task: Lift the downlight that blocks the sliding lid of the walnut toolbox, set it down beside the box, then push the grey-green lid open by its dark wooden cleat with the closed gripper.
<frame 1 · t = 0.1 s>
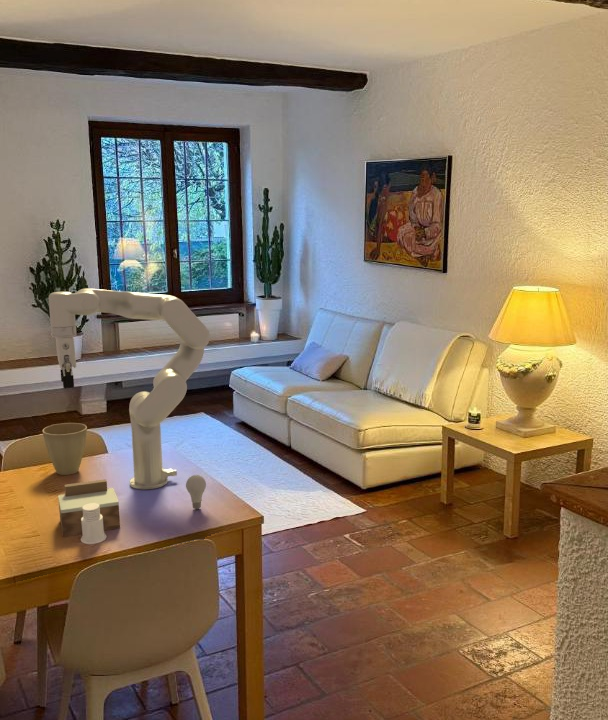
hand: (67, 384, 236), 37 cm above the table, tool pointing down, fingers open, 9 cm apart
lightbulb: (197, 509, 230), on the table
toolbox lid: (87, 495, 218), point 9 cm above the table, slide at 0.0 cm
downlight: (93, 539, 210), on the table
plant pot: (68, 471, 264), on the table
toolbox: (89, 524, 219), on the table
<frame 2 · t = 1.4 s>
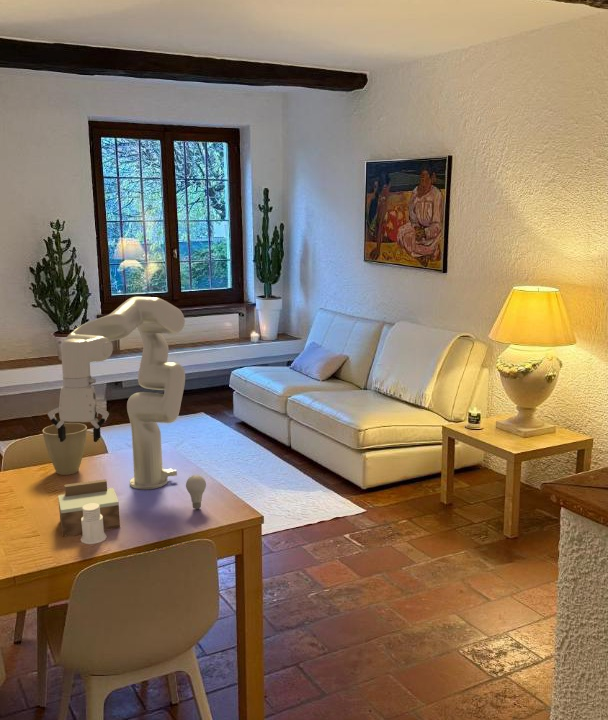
hand: (79, 440, 214), 26 cm above the table, tool pointing down, fingers open, 9 cm apart
nothing on the table moved.
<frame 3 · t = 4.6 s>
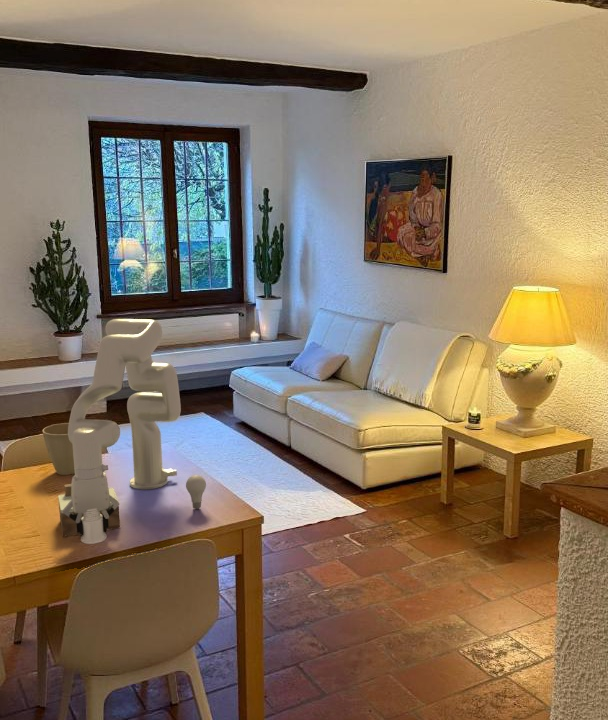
hand: (93, 531, 209), 2 cm above the table, tool pointing down, fingers closed on downlight, 5 cm apart
downlight: (93, 539, 210), on the table, touching gripper
everything else where it was.
when the fingers open (3 cm above the table, at t = 11.3 s): downlight drops 1 cm, on the table.
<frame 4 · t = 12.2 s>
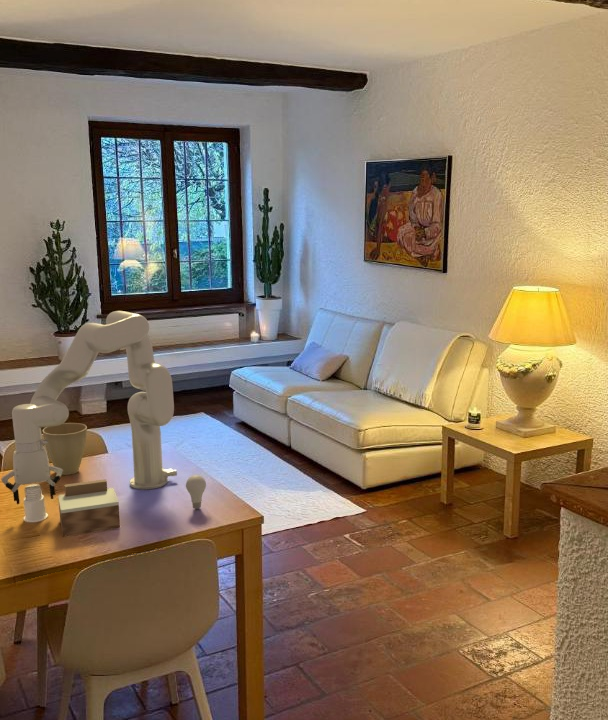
hand: (35, 499, 223), 6 cm above the table, tool pointing down, fingers open, 9 cm apart
downlight: (35, 518, 224), on the table
everything else where it was.
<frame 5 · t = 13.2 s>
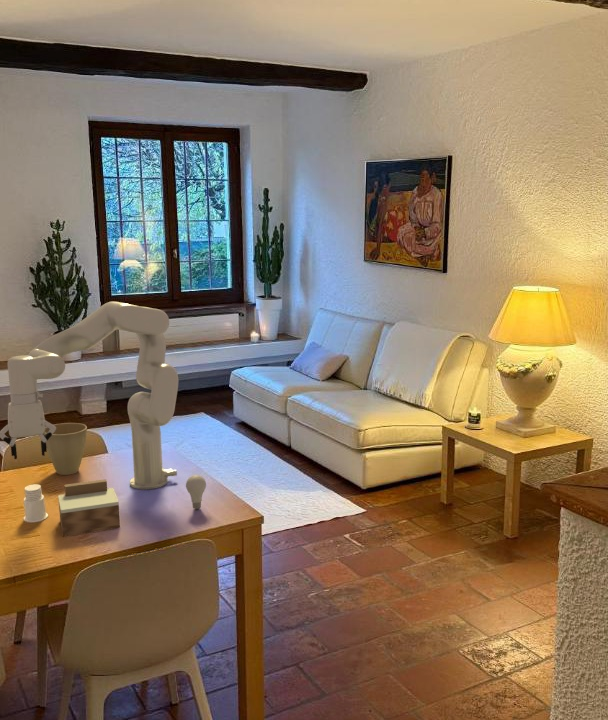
hand: (29, 455, 220), 20 cm above the table, tool pointing down, fingers open, 7 cm apart
nothing on the table moved.
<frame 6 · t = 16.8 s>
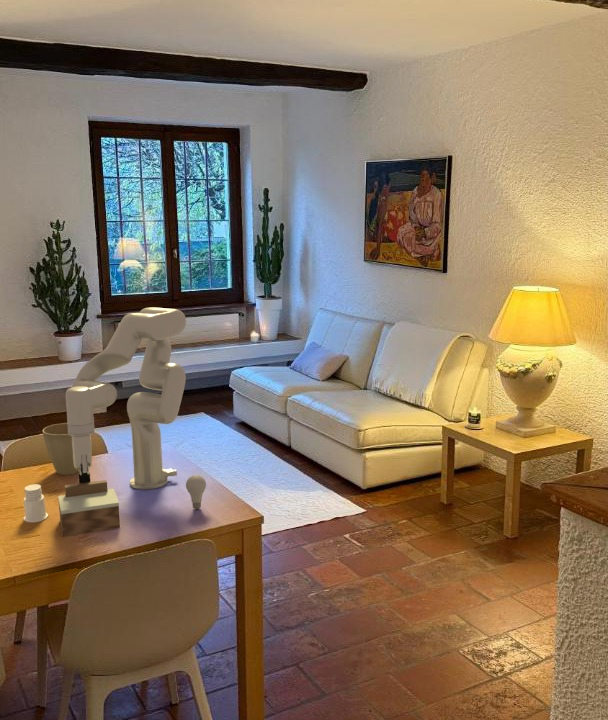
hand: (85, 486, 224), 9 cm above the table, tool pointing down, fingers closed
toolbox lid: (88, 496, 217), point 9 cm above the table, slide at 0.6 cm, touching gripper
everything else where it was.
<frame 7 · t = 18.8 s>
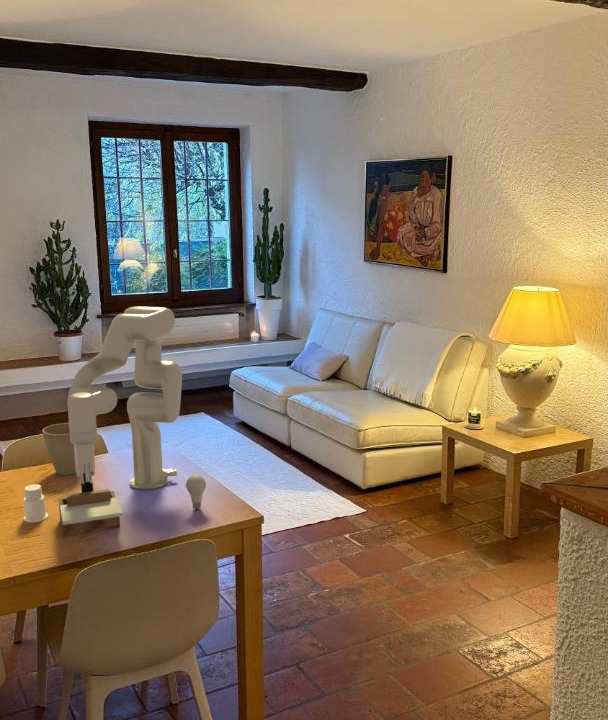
hand: (87, 495, 217), 9 cm above the table, tool pointing down, fingers closed
toolbox lid: (90, 505, 210), point 9 cm above the table, slide at 8.4 cm, touching gripper
everything else where it was.
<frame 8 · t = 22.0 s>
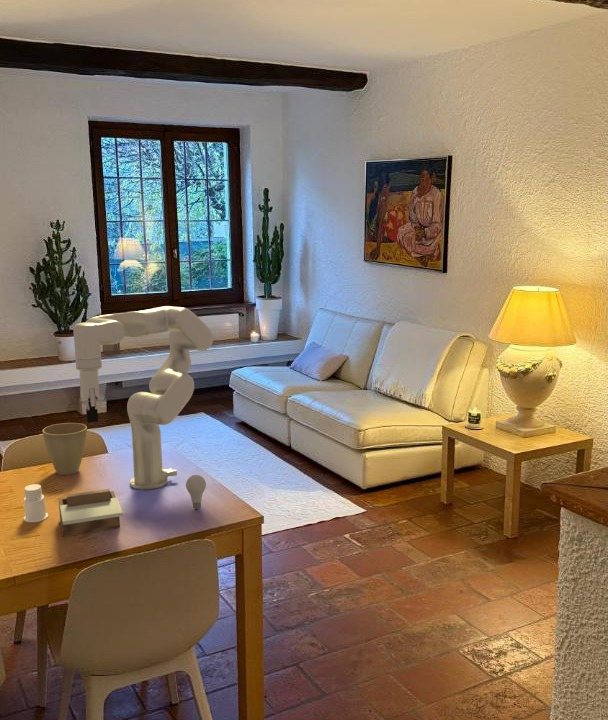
hand: (92, 421, 229), 27 cm above the table, tool pointing down, fingers closed
toolbox lid: (90, 505, 210), point 9 cm above the table, slide at 8.4 cm
everything else where it was.
at the end: toolbox lid slide at 8.4 cm; downlight inside the target area (0.4 cm from its centre), on the table; downlight tilted 0° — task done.
